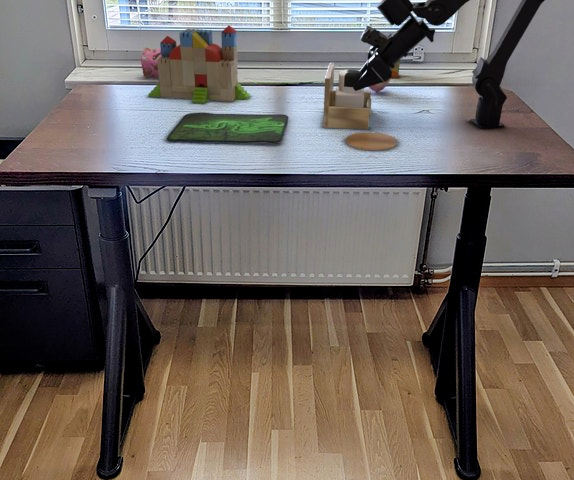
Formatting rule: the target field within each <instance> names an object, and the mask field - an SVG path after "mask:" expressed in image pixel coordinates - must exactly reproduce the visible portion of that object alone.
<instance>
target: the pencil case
mask: <svg viewBox="0 0 574 480" xmlns="http://www.w3.org/2000/svg"><path fill="white" fill-rule="evenodd" d="M160 57H162V56H161V48H159V49H158V48H148V47H144V48H143V50H142V52H141V57H140V64H141V70H142V75H143V77H145V78H153V79H159V74H158V62H157V59H158V58H160Z"/></svg>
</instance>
